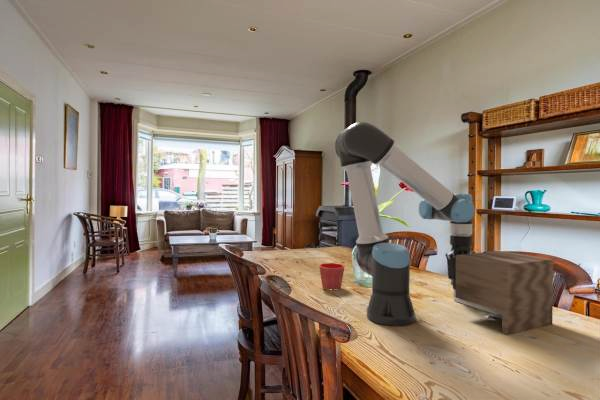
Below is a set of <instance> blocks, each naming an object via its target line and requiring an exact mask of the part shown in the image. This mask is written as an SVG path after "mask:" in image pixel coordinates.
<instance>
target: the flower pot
mask: <svg viewBox="0 0 600 400" xmlns="http://www.w3.org/2000/svg"><path fill="white" fill-rule="evenodd" d="M344 272H345V265H344V264H341V263H335V262H331V263H330V262H328V263H327V262H326V263H321V264H319V273H320V280H321V284H322V285H321V286H322V289H324V288H325V289H324V290H326V289H332V290H331V291H335V290H334V289H339V290H341V288H342V284H343V278H344Z"/></svg>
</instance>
